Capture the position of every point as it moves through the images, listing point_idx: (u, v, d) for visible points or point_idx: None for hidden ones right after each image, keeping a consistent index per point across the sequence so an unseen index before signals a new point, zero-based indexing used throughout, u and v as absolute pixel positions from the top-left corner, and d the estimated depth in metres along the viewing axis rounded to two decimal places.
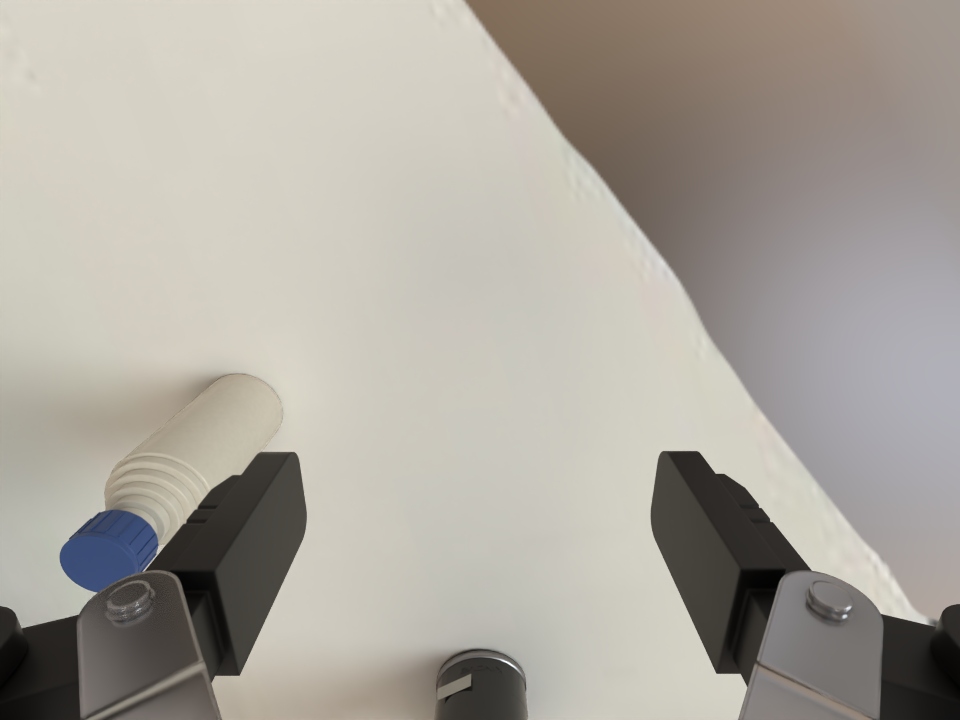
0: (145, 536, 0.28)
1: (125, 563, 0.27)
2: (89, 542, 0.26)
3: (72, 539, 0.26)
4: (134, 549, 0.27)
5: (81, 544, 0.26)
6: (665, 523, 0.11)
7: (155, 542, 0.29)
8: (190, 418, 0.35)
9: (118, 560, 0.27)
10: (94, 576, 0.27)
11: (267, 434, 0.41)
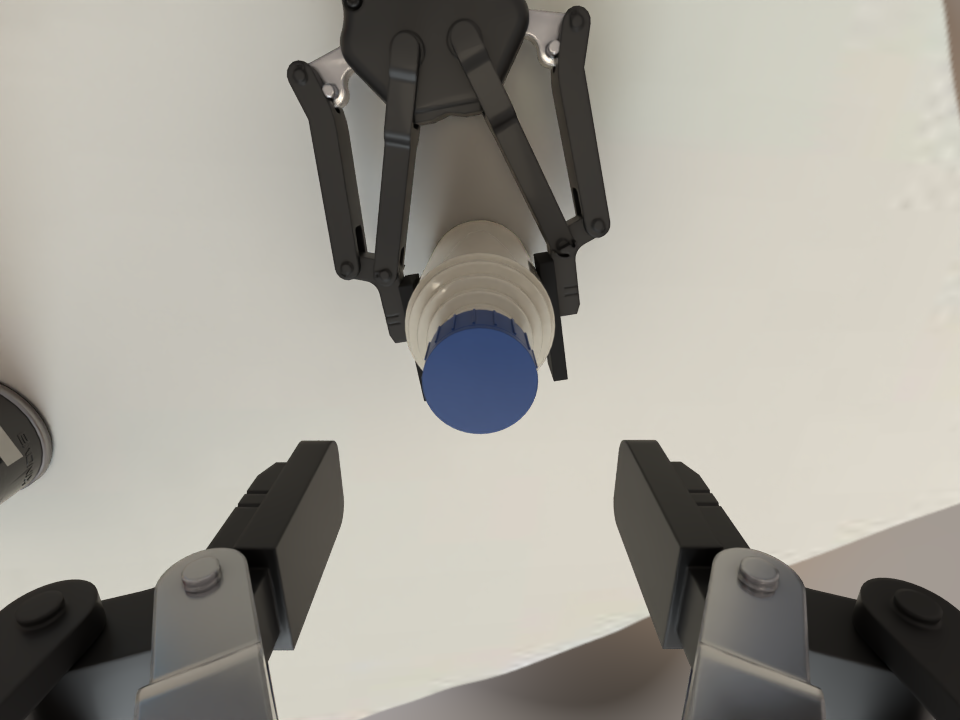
0: None
1: (473, 423, 0.17)
2: (524, 393, 0.17)
3: (535, 370, 0.17)
4: None
5: (523, 379, 0.17)
6: (624, 508, 0.11)
7: None
8: None
9: (481, 416, 0.17)
10: (460, 369, 0.17)
11: None
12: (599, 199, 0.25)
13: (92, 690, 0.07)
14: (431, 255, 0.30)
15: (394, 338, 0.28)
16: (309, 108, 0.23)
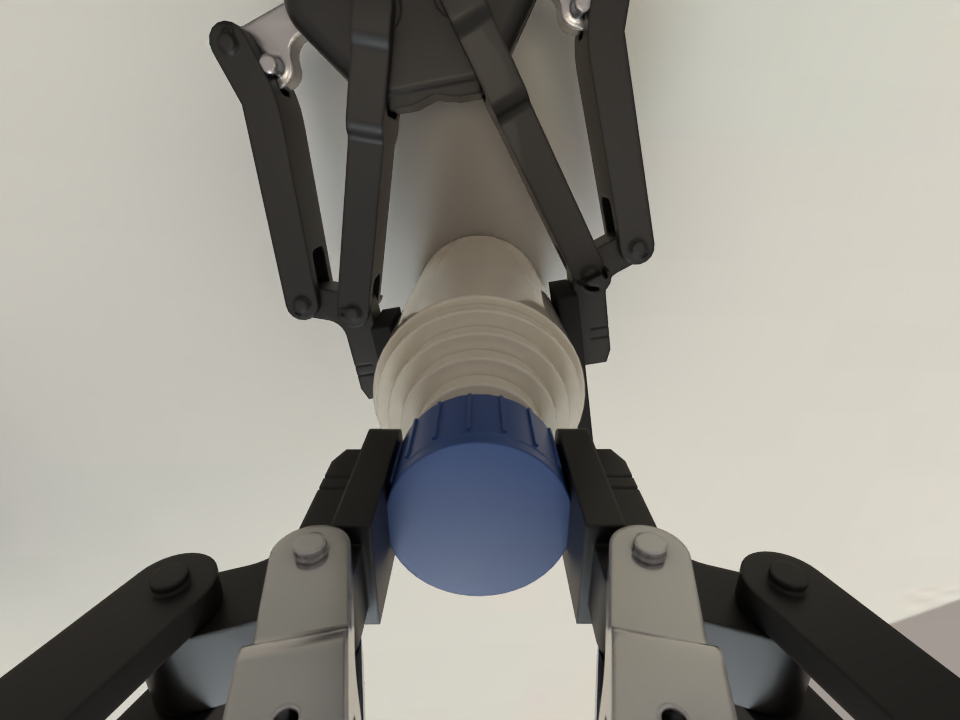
0: None
1: (468, 581, 0.11)
2: (550, 538, 0.10)
3: None
4: None
5: (550, 519, 0.10)
6: None
7: None
8: None
9: (481, 572, 0.11)
10: (447, 503, 0.10)
11: None
12: (640, 213, 0.18)
13: (217, 654, 0.07)
14: (417, 282, 0.23)
15: (367, 393, 0.21)
16: (242, 89, 0.17)
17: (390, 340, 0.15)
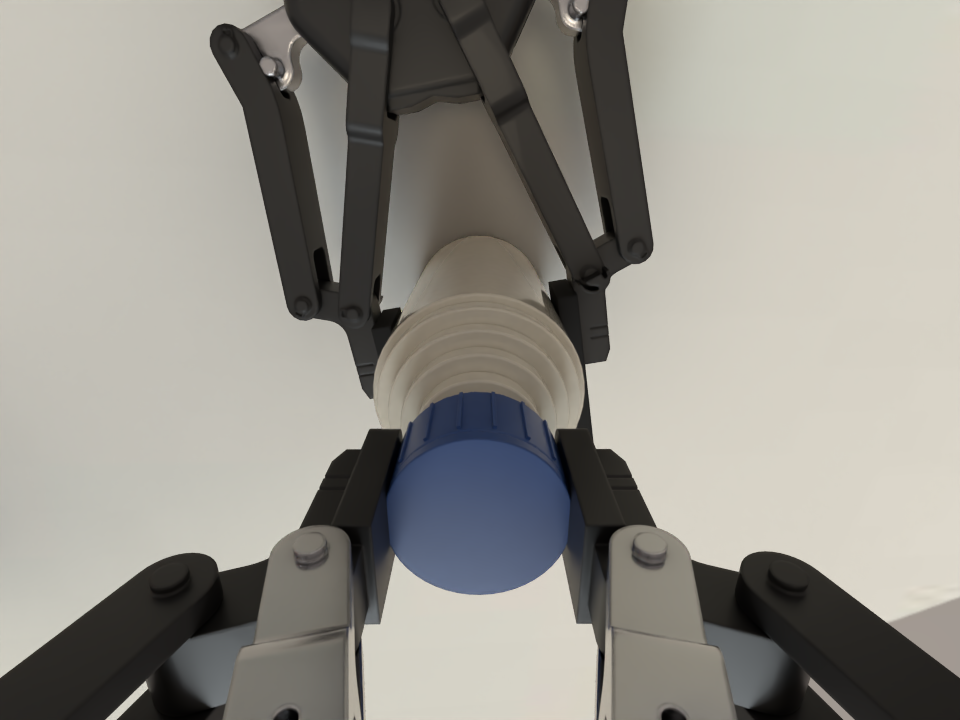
0: None
1: (552, 530, 0.10)
2: (496, 459, 0.10)
3: (454, 441, 0.10)
4: None
5: (471, 460, 0.10)
6: None
7: None
8: None
9: (539, 519, 0.10)
10: (453, 547, 0.11)
11: None
12: (639, 213, 0.18)
13: (217, 654, 0.07)
14: None
15: (368, 393, 0.22)
16: (243, 91, 0.17)
17: (390, 338, 0.15)
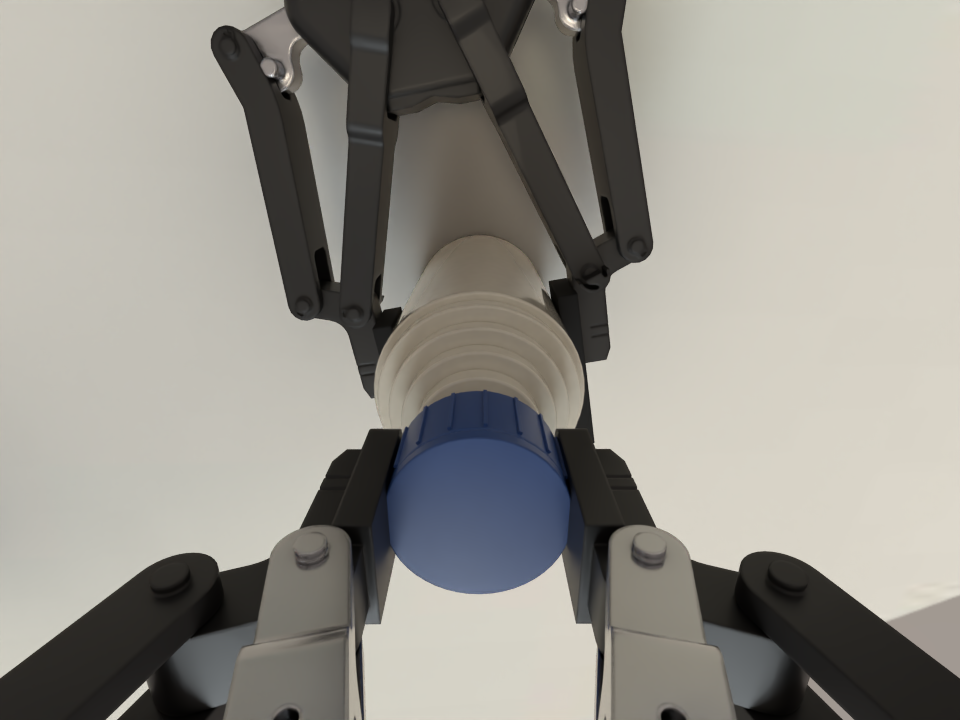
0: (467, 404, 0.11)
1: (488, 456, 0.10)
2: (403, 506, 0.10)
3: None
4: (467, 426, 0.10)
5: (406, 526, 0.10)
6: None
7: (503, 398, 0.11)
8: None
9: (474, 468, 0.10)
10: (508, 541, 0.10)
11: None
12: (639, 212, 0.19)
13: (218, 654, 0.07)
14: None
15: (370, 392, 0.22)
16: (244, 92, 0.17)
17: (390, 337, 0.15)
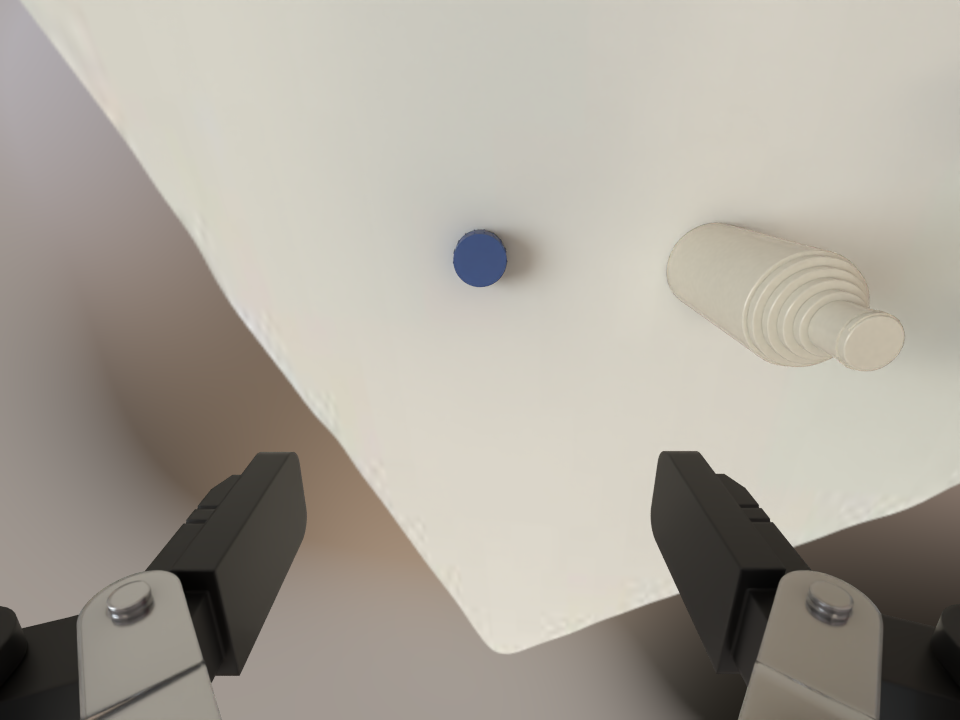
0: None
1: (500, 263, 0.37)
2: (484, 240, 0.36)
3: (473, 235, 0.36)
4: None
5: (478, 240, 0.36)
6: (665, 523, 0.11)
7: None
8: None
9: (497, 259, 0.37)
10: (473, 269, 0.37)
11: (689, 257, 0.36)
12: None
13: None
14: None
15: None
16: None
17: (850, 262, 0.27)
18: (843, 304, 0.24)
